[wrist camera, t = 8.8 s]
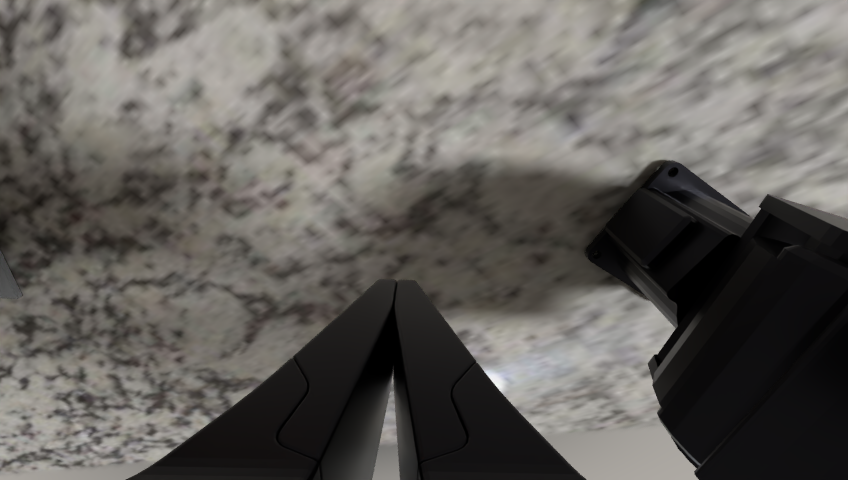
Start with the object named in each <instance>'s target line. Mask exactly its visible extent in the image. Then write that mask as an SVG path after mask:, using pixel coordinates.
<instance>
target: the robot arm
mask: <svg viewBox="0 0 848 480" xmlns="http://www.w3.org/2000/svg"><path fill="white" fill-rule="evenodd" d="M673 167H674V171H673V172H672V173H671V174H670V175H668V171H669V170H670V169H671V168H673ZM759 207H760V208H761V210H760V211H759V213H758V214H757V215H756V217H755V218H754V219H753V218H752V217H750V216H749V215H748V214H746V213H745V212H744V211H743V210H741V209H740V208H739V207H737V206H736V205H735V204H733V203H732V202H731V201H729V200H728V199H727V198H725V197H724V196H723V195H721V194H720V193H719V192H717V191H716V190H715V189H713V188H712V187H711V186H709V185H708V184H707V183H706V182H704V181H703V180H702V179H700V178H699V177H698V176H696V175H695V174H694V173H692V172H691V171H690V170H688V169H687V168H686V167H684V166H683V165H682V164H680V163H678V162H675V161H667V162H665V163H664V164H662V165H661V166H660V168H659V169H658V170H657V171H656V172H655V173H654V174H653V175H652V176H651V177H650V179H649V180H648V181H647V182H646V183H645V184H644V185H643V186H642V187H641V189H639V190H637V191H636V192H635V193H634V194H633V196H632V197H631V198H630V199H629V200H628V201H627V202H626V203H625V204H624V206H623V207H622V208H621V209H620V210H619V211H618V212H617V213H616V214H615V215H614V217H613V218H612V219H611V220H610V221H609V222H608V223H607V224H606V227H605V228H604V229H603V230H602V232H601V233H600V234H599V235H598V236H597V237H596V238H595V239H594V240H593V242H592V243H591V244H590V245H589V246H588V247H587V249H586V250H585V255H586V257H587V258H588V259H589V260H590V261H591V262H592V263H594V264H596V265H597V266H599V267H600V268H602V269H604V270H605V271H607V272H608V273H610V274H612V275H613V276H615V277H616V278H618V279H620V280H621V281H623V282H624V283H626V284H628V285H629V286H631V287H632V288H634V289H636V290H637V291H639V292H640V293H642V294H644V295H645V296H646V297H647V298H648V299H649V300H650V301H651V302H652V303H653V304H654V305H655V306H656V308H657V309H658V310H659V311H660V312H661V313H662V314H663V315H664V316H665V317H666V318H667V319H668V321H669V322H670V323H671V324H672V325H673V326H674V327H675V328H676V329H675V331H674V332H673V334H672V335H671V336H670V338H669V339H668V341H667V342H666V343H665V345H664V346H663V348H662V349H661V350H660V352H659V353H658V355H656V354H655V355H654V356H653V357H652V359H651V360H650V361H649V363H648V366H649V369H650V373H651V376H652V379H653V388H654V391H655V393H656V396H657V399H658V401H659V404H660V406H661V407H660V409H659V410H658V412H657V414H658V416H659V419H660V421H661V423H662V424H663V426H664V427H665V428H666V430H667V431H668V433H669V434H670V435H671V438H672V439H673V441H674V442H675V444H676V445H677V447H678V449H679V450H680V451H681V452H682V453H683V454H684V455H685V457H686V458H687V459H688V460H689V461H690V462H691V463H692V464H693V465H694V466H695V467H696V468H697V469H696V470H695V471H694V472H695V475H696V477H697V478H698V479H699V480H848V219H846V218H843V217H840V216H837V215H834V214H830V213H827V212H824V211H821V210H818V209H814V208H811V207H808V206H805V205H801V204H798V203H795V202H792V201H789V200H785V199H782V198H779V197H776V196H773V195H769V194H767V196H766V197H765V198H764V200H763V201H762V203H761V204H760V206H759ZM595 251H599V252H598V254H596V255H592V254H593V252H595ZM392 376H393V379H394V398H395V412H396V427H397V442H398V456H399V471H400V480H586V479H585V478H584V477H583V476H582V475H580V474H579V473H578V472H577V471H576V470H575V469H574V468H573V467H572V466H571V465H570V464H569V463H568V462H567V461H566V460H565V459H564V458H563V457H562V456H561V455H560V454H559V453H558V452H557V451H556V450H555V449H554V448H553V447H552V446H551V445H550V443H548V441H546V439H545V438H544V437H543V436H542V435H541V434H540V433H539V432H538V431H537V430H536V429H535V428H534V427H533V426H532V425H531V424H530V423H529V422H528V421H527V420H526V419H525V418H524V417H523V416H522V415H521V414H520V413H519V412H518V410H517V409H516V408H515V407H514V406H513V405H512V404H511V403H510V402H509V401H508V400H507V399H506V397H505V396H504V395H503V394H502V393H501V392H500V391H499V389H498V388H497V387H496V386H495V385H494V383H493V382H492V381H491V380H490V378H489V377H488V376H487V375H486V373H485V372H484V371H483V369H482V368H481V367H480V365H479V364H478V363H476V360H475V359H474V358H473V356H472V355H471V354H470V352H469V351H468V350H467V348H466V347H465V346H464V344H463V343H462V342H461V340H460V339H459V338H458V336H457V335H456V334H455V332H454V331H453V330H452V328H451V327H450V326H449V324H448V323H447V322H446V321H445V319H444V318H443V317H442V315H441V314H440V313H439V311H438V310H437V309H436V307H435V306H434V305H433V303H432V302H431V301H430V299H429V298H428V297H427V295H426V294H425V293H424V291H423V290H422V289H421V287H420V286H419V285H418V283H417V282H416V281H414V280H399V281H398V282H397V281H396V280H389V279H380V280H378V281H377V282H376V283H374V284H373V285H372V286H371V287H370V288H369V289H368V290H367V291H366V292H364V293H363V294H362V295H361V296H360V297H359V298H358V299H357V300H356V301H354V302H353V303H352V304H351V305H350V306H349V307H348V308H347V309H345V310H344V311H343V312H342V313H341V314H340V315H339V316H338V317H337V318H335V319H334V320H333V321H332V322H331V323H330V324H329V325H328V326H327V327H325V328H324V329H323V330H322V331H321V332H320V333H319V334H318V335H317V336H315V337H314V338H313V339H312V340H311V341H310V342H309V343H308V344H307V345H305V346H304V347H303V348H302V349H301V350H300V351H299V352H298V353H296V354H295V355H294V356H293V359H290V360H288V361H287V362H286V363H285V364H284V365H283V366H282V367H281V368H280V369H278V370H277V371H276V372H275V373H274V374H273V375H271V376H270V377H269V378H268V379H267V380H265V381H264V382H263V383H262V384H261V385H260V386H258V387H257V388H256V389H255V390H253V391H252V392H251V393H249V394H248V395H247V396H245V397H244V398H243V399H242V400H240V401H239V402H238V403H236V404H235V405H234V406H232V407H231V408H230V409H228V410H227V411H226V412H224V413H223V414H222V415H220V416H219V417H218V418H216V419H215V420H213V421H212V422H211V423H209V424H208V425H207V426H205V427H204V428H203V429H201V430H200V431H198V432H197V433H196V434H194V435H193V436H192V437H190V438H189V439H188V440H186V441H185V442H184V443H182V444H181V445H179V446H178V447H177V448H175V449H174V450H173V451H171V452H170V453H169V454H167V455H166V456H164V457H163V458H162V459H160V460H159V461H157V462H156V463H154V464H153V465H151V466H150V467H148V468H147V469H145V470H143V471H141V472H140V473H138V474H137V475H134V476H132V477H130V478H128V479H126V480H372V477H373V472H374V467H375V462H376V457H377V452H378V448H379V443H380V438H381V433H382V428H383V423H384V418H385V413H386V408H387V403H388V398H389V393H390V388H391V382H392Z"/></svg>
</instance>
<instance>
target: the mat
mask: <svg viewBox="0 0 848 480" xmlns="http://www.w3.org/2000/svg"><path fill="white" fill-rule="evenodd" d="M22 296H23V295H22V293H21V291H20V289H19V287H18V285H17V283H16V281H15V279H14V277H13V275H12V273H11V271H10V269H9V267H8V265H7V263H6V261H5V258H4V256H3V254H2V252H1V250H0V298H13V299H18V298H20V297H22Z"/></svg>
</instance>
